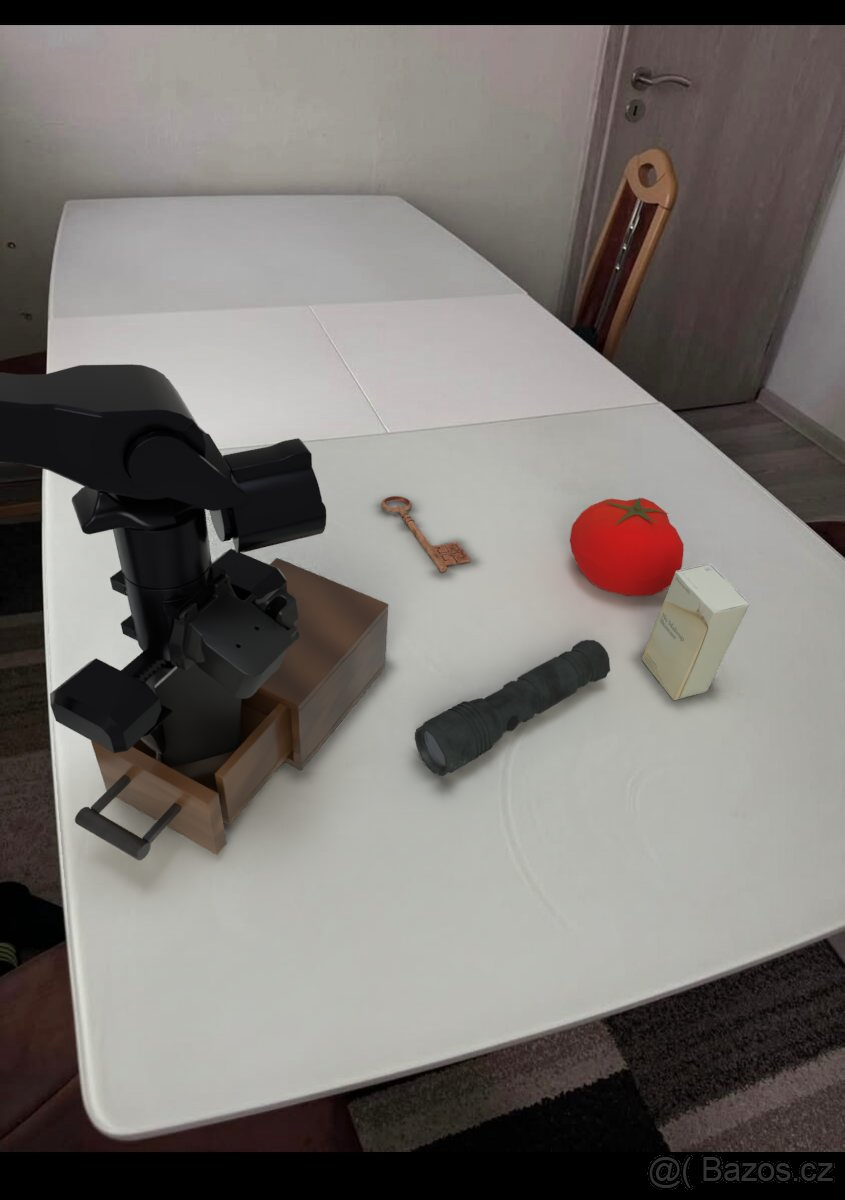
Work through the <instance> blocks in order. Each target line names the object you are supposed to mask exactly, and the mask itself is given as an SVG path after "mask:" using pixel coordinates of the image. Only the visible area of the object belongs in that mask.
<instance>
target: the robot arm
mask: <svg viewBox="0 0 845 1200" xmlns="http://www.w3.org/2000/svg"><path fill="white" fill-rule="evenodd" d="M0 464H9V465H11V464H13V465H24V466H27V467H33V468H38V469H42V470H46V471H49V472H51V473H54V474H56V475H57V476H60V477H63V478H65V479H67V480H69V481H72V482H73V483H76V484H78V485H80V486H83V487H81V488H80V489H79V490H78V491H77V492H76V493H75V494H73V496H72V497H71V503H72V506H73V509H74V513H75V514H76V517H77V520H78V523H79V525H80V529H81V531H82V533H83V534H85V535H94V534H99V533H103V532H108V531H112V532H113V538H114V542H115V546H116V551H117V555H118V559H119V566H120V570H119V571H117V572H115V574H113V575H112V576H110V577H109V581H110V585H111V589H112V590H113V591H114V592H117V593H119V594H121V595H123V596H125V597H127V601H128V606H129V611H130V615H129V616H128V617H126V618H125V619H124V620H123V621H122V622H120V627H121V632H122V635H124V636H126V637H128V638H130V639H133V640H134V641H137V646H138V647H139V649H141V651H142V652H141V653H140V654H138V655H137V656H136V657H135V658H133V659H132V660H131V661H130V662H129V663H128V664H127V665H125V666H124V667H123V668H121V670H120V669H118V668H117V667H115V666H113V665H111V664H109V663H107V662H105V661H103V660H101V659H98V658H96V657H95V658H94V659H92V660H90V661H88V662H87V663H86V664H85V665H84V666H82V667H81V668H80V669H79V670H77V671H76V672H74V673H73V674H72V675H71V676H70V677H69V678H67V679H66V680H65V681H64V682H63V683H61V684H60V685H59V686H58V687H56V688H55V689H54V690H52V691H51V692H50V693H49V698H50V699H49V701H50V703H49V704H50V708H51V710H52V714H53V716H54V720H55V722H56V723H58V724H60V725H62V726H64V727H65V728H68V729H69V730H72V731H73V732H75V733H77V734H79V735H81V736H83V737H84V738H86V739H87V740H90V742H91V741H93V742H95V743H97V744H99V745H100V746H102V747H104V748H106V749H108V750H110V751H111V752H113V753H119V752H124V751H128V750H129V749H130V748H131V747H132V746H133V745H134V744H135V743H136V742H137V741H139V740H140V739H141V740H142V741H143V742H144V743H145V744H146V745H148V746H149V747H150V748H151V749H152V750H154V751H156V752H158V753H159V754H163V753H164V752H165V751H166V739H165V734H164V728H163V721H164V720H165V719H166V718H167V717H168V716H169V715H170V714H171V713H172V712H173V710H171V709H169V708H167V707H165V706H163V705H161V704H160V699H159V698H158V696H157V695H156V691H155V688H156V687H157V686H158V685H160V684H161V683H162V682H163V681H164V680H165V679H166V678H167V677H168V676H170V675H171V674H172V673H173V672H174V671H175V670H176V669H177V668H180V669H182V670H184V671H187V670H188V669H189V668H190V667H191V666H192V665H193V664H194V663H195V662H196V665H197V666H198V667H199V668H200V669H201V670H203V671H204V672H205V673H206V674H208V675H209V676H210V677H212V678H213V679H214V680H216V681H217V682H218V683H220V684H221V685H222V686H223V687H225V688H226V689H227V691H228V692H229V693H230V694H231V695H233V696H234V697H236V698H240V699H246V698H249V697H251V696H252V695H254V694H255V693H256V691H257V690H258V689H259V688H260V687H261V686H262V684H263V683H264V682H265V681H266V680H267V679H268V678H269V677H270V676H271V675H272V674H273V673H275V672H276V671H277V670H278V668H279V667H280V665H281V663H282V660H283V658H284V656H285V654H286V652H287V650H288V649H289V648H290V647H291V645H292V644H293V643H294V642H295V641H296V640H297V639H298V638H299V637H300V635H299V633H298V631H297V629H298V628H297V627H296V624H297V622H298V619H299V617H298V611H297V605H296V599H295V598H294V597H293V596H292V595H290V594H289V593H288V592H287V580H286V578H285V576H284V575H283V574H282V572H281V571H280V570H279V569H278V568H276V567H274V566H271V565H269V564H270V563H267V562H265V561H262V560H259V559H258V558H255V557H252V556H250V555H249V554H245V553H247V552H251V551H252V552H253V551H255V550H260V549H263V548H268V547H273V546H276V545H281V544H284V543H289V542H292V541H297V540H301V539H305V538H306V539H307V538H310V537H313V536H318V535H321V534H323V533H324V531H325V530H326V526H327V507H326V504H325V503H324V502H323V498H322V493H321V488H320V485H319V482H318V478H317V476H316V472H315V471H314V467H313V455H312V452H311V451H310V450H309V448H308V447H307V446H306V444H305V443H304V441H302V439H300V438H292V439H286V440H283V441H280V442H277V443H274V444H273V445H269V446H264V447H259V448H254V449H250V450H244V451H238V452H233V453H228V454H222V452H221V451H220V450H219V447H218V446H217V444H216V443H215V441H214V439H213V438H212V436H211V435H210V434H209V433H208V432H206V431H205V430H204V429H203V428H202V427H200V426H199V424H198V423H197V421H196V419H195V418H194V416H193V415H192V413H191V411H190V410H189V408H188V406H187V405H186V403H185V401H184V400H183V398H182V396H181V394H180V393H179V391H178V390H177V388H176V387H175V386H174V385H173V383H172V382H171V381H170V379H168V378H167V376H166V375H165V374H163V373H162V372H161V371H159V370H157V369H156V368H153V367H150V366H147V365H143V364H132V363H131V364H129V363H127V364H78V365H74V366H71V367H67V368H63V369H59V370H57V371H53V372H49V373H44V374H16V373H8V372H0ZM206 510H207V511H209V512H208V513H209V516H210V519H211V522H212V525H213V528H214V531H215V534H216V535H217V538H218V539H219V541H220V542H221V543H224V542H228V541H231V540H232V543H233V546H234V549H233V548H230V549H228V550H226V551H225V552H223V553H222V554H221V555H219V556H218V557H217V558H215V559H214V560H213V561H212V553H211V546H210V537H209V531H208V522H207V515H206V514H207V513H206ZM194 661H195V662H194Z"/></svg>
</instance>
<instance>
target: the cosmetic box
mask: <svg viewBox="0 0 845 1200" xmlns="http://www.w3.org/2000/svg"><path fill="white" fill-rule="evenodd" d="M750 605H751V603H750V601H749V600H748V599H747V598H746V597H745V596H744V595H743V594H742V593H741V592H740V591H739V590H738V589H737V588H736V587H735V586H734V585H733V583H731V582H730V580H729V579H727V578H726V577H725V576H724V575H723V573H721V572H720V571H719V570H718V569H717V568H716V567H715V566H714V565H713V564H712V563H711V562H709V563H705V564H700V565H696V566H690V567H686V568H683V569H682V568H681V570H678V571H676V572H675V575H674V577H673V580H672V582H671V585H670V586H669V587H668V591H667V592H666V595H665V598H664V600H663V603H662V605H661V608H660V611H659V612H658V615H657V618H656V621H655V623H654V626H653V628H652V631H651V632H650V633H651V634H650V636H649V638H648V641H647V643H646V646H645V648H644V651H643V654H642V655H641V660H642V662H643V664H645V666H646V667H647V669H648V670H649V671H650V672H651V674H652V675H653V676H654V677H655V678H656V680H657V681H658V683H659V684H660V685H661V686H662V688H663V689H664V690H665V692H666V693H667V694H668V695H669V696H670V698H671V699H672V700H673V701H677V700H681V699H684V698H688V697H691V696H692V697H693V696H696V695H699V694H702V693H706V692H708V690H709V689H710V686H711V684H712V682H713V680H714V678H715V676H716V674H717V672H718V670H719V668H720V666H721V664H722V662H723V660H724V657H725V655H726V654H727V651H728V649H729V648H730V645H731V643H732V641H733V640H734V638H735V635H736V633H737V631H738V629H739V627H740V625H741V623H742V621H743V619H744V617H745V615H746V613H747V611H748V609H749V607H750Z"/></svg>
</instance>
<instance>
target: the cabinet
mask: <svg viewBox="0 0 845 1200" xmlns="http://www.w3.org/2000/svg"><path fill="white" fill-rule="evenodd" d="M268 564H269V565H271V566H274V567H276V568H278V569H279V570H280V571H281V572H282V574H283V575H284V576H285V578H286V580H287V592H288V593H289V594H290V595H292V596H293V597H294V598H295V599H296V605H297V611H298V617H299V619H298V622H297V624H296V627H297V628H298V629H297V631H298V633H299V635H300V637H299V638H298V639H297V640H296V641H295V642H294V643H293V644H292V645H291V647H290V648H289V649H288V650H287V652H286V654H285V656H284V658H283V660H282V663H281V665H280V667H279V668H278V670H277V671H276V672H275V673H273V674H272V675H271V676H270V677H269V678H268V679H267V680H266V681H265V682H264V683H263V684H262V686H261V687H260V688H259V689H258V690H257V691H256V692H258V693H260V694H262V695H264V696H267V697H269V698H271V699H273V700H275V701H277V702H279V703H281V704H283V705H285V706H287V707H289V708H291V721H292V738H293V751H292V752H291V753H290V755H289V756H288V757H287V758H286V759H285V760H284V762H283V763H286V764H287V765H290V766H291V767H293V768H295V769H298V770H300V771H302V770H303V769H305V767H306V766H307V764H308V763H309V762H310V761H311V759H312V758H313V757H314V756H315V754H317V752H318V751H319V750H320V749H321V747H322V746H323V745H324V743H325V742H326V741H327V740H328V738H329V737H330V736H331V735H332V734H333V733H334V731H335V730H336V729H337V727H338V726H339V725H340V724H341V723H342V721H343V720H344V719H345V717H347V715H348V714H349V713H350V712H351V710H352V709H353V708H354V706H355V705H356V704H357V703H358V702H359V701H360V699H361V698H362V697H363V696H364V694H365V693H366V692H367V690H368V689H369V688H370V687H371V686H372V684H373V683H374V682H375V681H376V680H377V678H378V677H379V676H380V675H381V674H382V672H383V671H384V670H385V668H386V658H387V657H386V656H387V640H388V639H387V637H388V621H389V603H387V602H385V601H382V600H380V599H377V598H375V597H373V596H370V595H368V594H365V593H363V592H360V591H358V590H356V589H353V588H351V587H349V586H346V585H344V584H341V583H339V582H336V581H334V580H332V579H330V578H327V577H325V576H322V575H320V574H317V573H315V572H312V571H310V570H308V569H305V568H303V567H301V566H298V565H296V564H293V563H291V562H288V561H286V560H284V559H281V558H278V557H276V558H275V559H274V560H273V561H271V562H270V563H268Z"/></svg>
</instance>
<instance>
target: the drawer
mask: <svg viewBox="0 0 845 1200" xmlns="http://www.w3.org/2000/svg"><path fill="white" fill-rule="evenodd" d="M241 740H242V741H241V743H242V745H241V746H240V747H239V748H238V749H237V750H235V751H232V752H228V753H225V754H222V755H218V756H214V757H211V758H207V759H204V760H200V761H196V762H192V763H188V764H184V765H180V766H176V767H172V768H170V767H168V766H167V765H165V764H163V763H161V762H159V761H157V754H156V751H154V750H152V749H151V748H150V747H149V746H148V745H146V744H145V743H144V742H143V741H142V740H141V739H140V740H139V741H137V742H136V743H135V744H134V745H133V746H132V747H131V748H130V749H129V750H128V751H124V752H119V753H113V752H111V751H110V750H108V749H106V748H104V747H102V746H100V745H99V744H97V743H95V742H93V741H91V740H90V742H91V746H92V749H93V752H94V756H95V758H96V761H97V765H98V768H99V771H100V774H101V778H102V781H103V784H104V787H105V790H106V791H105V792H104V794H102V795H101V796H100V797H99V798H98V799H97V800H96V801H95V802H94V803H93V804H92V805H91V806H90V807H89V806H84V807H82V808H81V809H80V810H79V811H78V812H77V814H76V816H75V818H74V822H75V824H76V825H77V826H79V827H81V828H83V829H85V830H86V831H88V832H89V833H90V834H93V835H94V836H96V837H97V838H99V839H101V840H103V841H104V842H106V843H108V844H110V845H111V846H113V847H115V848H116V849H118V850H120V851H121V852H123V853H125V854H126V855H128V856H130V857H131V858H133V859H135V860H136V861H143V860H144V859H145V858H146V857H147V855H148V854H149V852H150V850H151V845H152V843H153V842H154V841H155V840H156V839H157V838H158V836H159V835H160V834H161V833H162V832H163V831H164V829H165V828H166V827H167V828H169V829H171V830H173V831H174V832H176V833H178V834H180V835H181V836H183V837H184V838H187V839H189V840H190V841H192V842H194V843H195V844H197V845H199V846H200V847H202V848H204V849H206V850H207V851H210V852H211V853H213V854H214V855H216V856H218V855H219V854H220V853H221V851H222V850H223V849H224V848H225V847H226V846H227V844H228V843H227V837H226V833H225V826H224V823H225V824H227V825H229V826H231V825H232V823H233V822H234V821H235V820H236V819H237V818H238V816H239V815H241V813H242V811H244V809H245V808H246V807H247V806H248V804H249V803H250V802H251V801H252V800H253V798H254V797H255V796H256V795H257V794H258V793H259V791H260V790H261V789H262V788H263V787H264V786H265V784H266V783H267V782H268V781H269V780H270V779H271V777H272V776H273V775H274V774H275V773H276V772H277V770H278V769H279V768H280V767H281V765H282V764H283V763H285V762H284V760H285V759H286V758H287V757H288V756H289V755H290V753H291V752H292V751H293V738H292V721H291V708H289V707H287V706H285V705H283V704H281V703H279V702H277V701H275V700H273V699H271V698H269V697H267V696H264V695H262V694H260V693H258V692H256V693H255V694H254V695H252V696H251V697H249V698H246V699H242V703H241ZM114 799H118V800H120V801H121V802H123V803H126V804H127V805H128V806H130V807H132V808H134V809H136V810H138V811H139V812H141V813H143V814H145V815H147V816H148V817H150V818H152V819H153V820H155V821H156V822H155V823H154V824H153V825H152V826H151V827H150V828H149V830H147V831H146V833H145V834H143V836H142V837H141V836H139V835H137V834H136V833H134V832H133V831H130V830H129V829H127V828H126V827H124V826H122V825H120V824H118V823H117V822H115V821H113V820H112V819H110V818H108V817H106V816H104V815H103V814H101V813H102V811H103V810H104V809H105V808H106V807H108V805H110V803H111V802H112V801H114Z"/></svg>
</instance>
